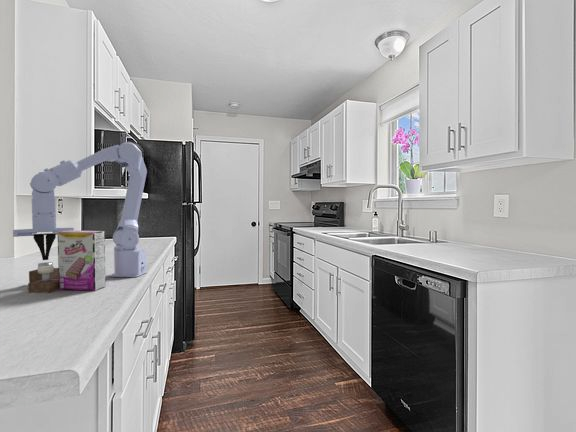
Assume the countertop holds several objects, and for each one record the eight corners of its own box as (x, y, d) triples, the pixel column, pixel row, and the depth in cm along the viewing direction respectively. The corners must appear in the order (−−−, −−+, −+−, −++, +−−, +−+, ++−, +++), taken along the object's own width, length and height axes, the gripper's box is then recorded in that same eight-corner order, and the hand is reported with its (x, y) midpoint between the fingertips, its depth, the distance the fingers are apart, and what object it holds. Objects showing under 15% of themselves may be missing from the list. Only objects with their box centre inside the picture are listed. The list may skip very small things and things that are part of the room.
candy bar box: (57, 290, 95) (55, 231, 95) (70, 286, 100) (69, 230, 100) (95, 291, 94) (94, 231, 94) (106, 287, 99) (105, 230, 99)
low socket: (62, 287, 98) (62, 279, 98) (48, 292, 93) (48, 283, 93) (43, 287, 98) (43, 278, 98) (28, 292, 93) (28, 283, 93)
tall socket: (61, 282, 105) (61, 267, 105) (48, 286, 99) (47, 271, 99) (43, 282, 105) (43, 267, 105) (29, 286, 99) (28, 271, 99)
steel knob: (56, 282, 104) (55, 262, 104) (47, 285, 100) (46, 264, 100) (44, 282, 104) (43, 262, 104) (35, 285, 100) (34, 264, 100)
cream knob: (56, 280, 97) (56, 265, 97) (47, 283, 94) (47, 268, 93) (44, 280, 97) (43, 265, 97) (34, 283, 94) (34, 268, 94)
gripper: (11, 214, 94) (13, 264, 94) (73, 213, 102) (75, 259, 103) (13, 214, 100) (15, 260, 100) (72, 213, 108) (73, 256, 108)
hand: (45, 259), depth 102 cm, fingers closed
